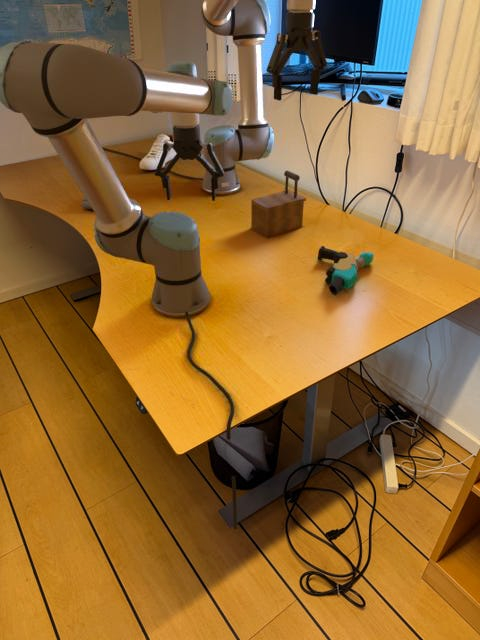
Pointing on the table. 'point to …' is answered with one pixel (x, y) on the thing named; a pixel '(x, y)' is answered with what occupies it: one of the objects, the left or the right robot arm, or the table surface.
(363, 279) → the table surface
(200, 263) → the left robot arm
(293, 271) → the table surface
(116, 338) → the table surface
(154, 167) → the sneaker
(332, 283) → the toy gun
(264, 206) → the lid
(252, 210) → the chest
